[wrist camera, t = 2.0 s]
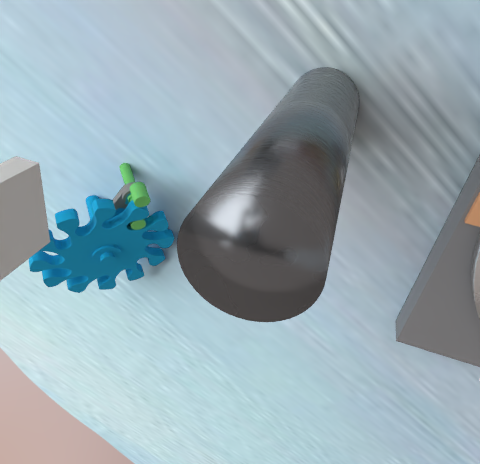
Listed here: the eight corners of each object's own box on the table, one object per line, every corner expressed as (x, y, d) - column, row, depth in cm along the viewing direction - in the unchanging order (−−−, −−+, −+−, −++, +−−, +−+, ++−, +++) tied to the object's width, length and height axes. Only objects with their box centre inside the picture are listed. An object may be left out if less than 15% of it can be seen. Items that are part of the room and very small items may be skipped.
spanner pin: (296, 60, 23) (181, 175, 10) (368, 75, 22) (346, 219, 9) (282, 129, 25) (173, 296, 12) (347, 145, 24) (306, 339, 11)
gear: (131, 301, 35) (4, 295, 28) (116, 246, 38) (-3, 228, 31) (211, 219, 30) (82, 186, 23) (186, 164, 33) (65, 119, 26)
